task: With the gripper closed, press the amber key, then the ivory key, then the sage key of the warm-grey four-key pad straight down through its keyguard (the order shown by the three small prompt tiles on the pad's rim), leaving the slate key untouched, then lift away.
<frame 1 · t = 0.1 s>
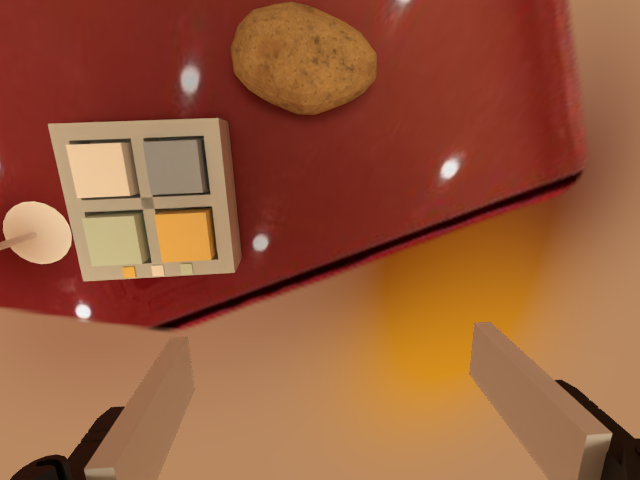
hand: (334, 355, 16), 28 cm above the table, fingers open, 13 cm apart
potato: (304, 71, 39), on the table
keypad: (165, 196, 41), on the table
key slate: (177, 166, 35), point 5 cm above the table, slide at 0.0 cm
wineglass: (38, 233, 41), on the table
key amber: (187, 234, 37), point 5 cm above the table, slide at 0.0 cm
key ivory: (105, 169, 35), point 5 cm above the table, slide at 0.0 cm
key sage: (118, 238, 37), point 5 cm above the table, slide at 0.0 cm
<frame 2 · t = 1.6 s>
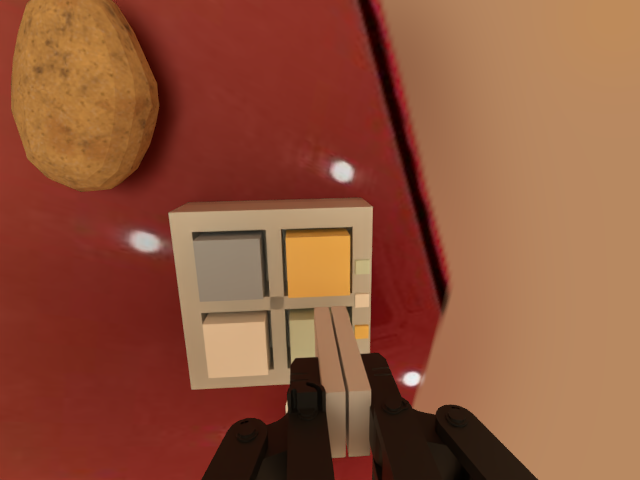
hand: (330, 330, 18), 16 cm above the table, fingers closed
potato: (117, 101, 30), on the table
keypad: (280, 280, 35), on the table
key slate: (231, 265, 29), point 5 cm above the table, slide at 0.0 cm
key amber: (317, 262, 29), point 5 cm above the table, slide at 0.0 cm
key ivory: (238, 342, 31), point 5 cm above the table, slide at 0.0 cm
key sage: (319, 338, 31), point 5 cm above the table, slide at 0.0 cm
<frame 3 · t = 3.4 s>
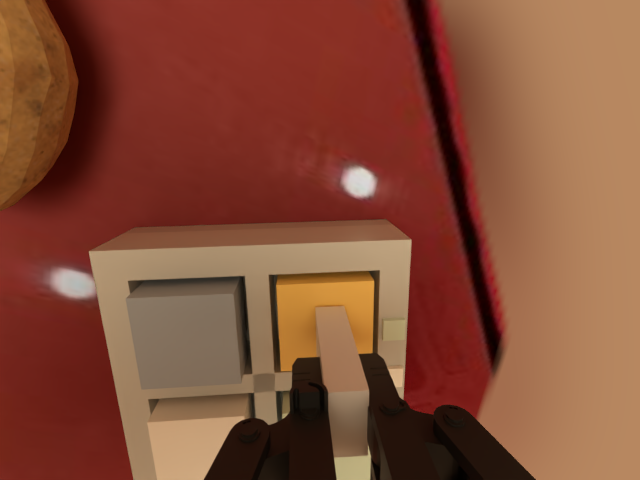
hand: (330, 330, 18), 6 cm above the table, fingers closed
potato: (21, 76, 20), on the table
keypad: (270, 334, 25), on the table
key slate: (193, 329, 19), point 5 cm above the table, slide at 0.0 cm
key amber: (324, 315, 20), point 4 cm above the table, slide at 0.8 cm, touching gripper
key ivory: (206, 438, 20), point 5 cm above the table, slide at 0.0 cm
key sage: (327, 430, 21), point 5 cm above the table, slide at 0.0 cm
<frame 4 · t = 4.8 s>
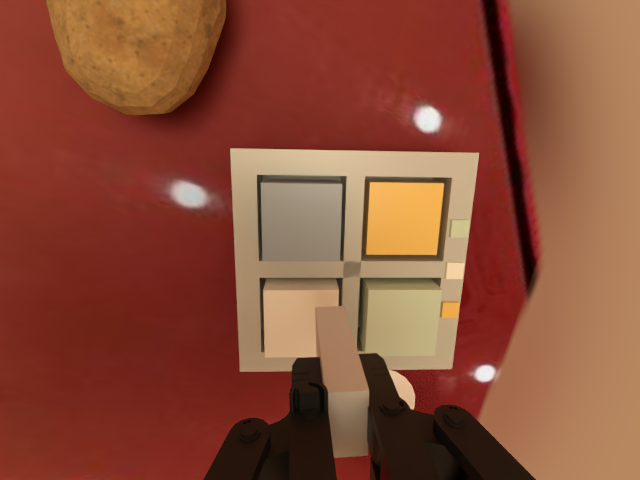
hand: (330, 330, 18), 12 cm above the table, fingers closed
potato: (168, 18, 25), on the table
keypad: (343, 248, 30), on the table
key slate: (301, 219, 24), point 5 cm above the table, slide at 0.0 cm
wineglass: (375, 401, 34), on the table
key amber: (399, 216, 25), point 4 cm above the table, slide at 1.6 cm
key ivory: (301, 315, 25), point 5 cm above the table, slide at 0.0 cm
key sage: (397, 315, 26), point 5 cm above the table, slide at 0.0 cm
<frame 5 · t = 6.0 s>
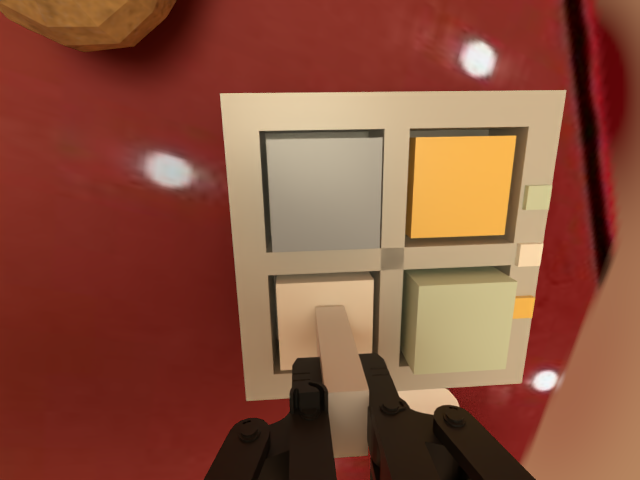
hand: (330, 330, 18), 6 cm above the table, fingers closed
keypad: (371, 234, 23), on the table
key slate: (323, 192, 17), point 5 cm above the table, slide at 0.0 cm
wineglass: (412, 420, 28), on the table
key amber: (451, 185, 19), point 4 cm above the table, slide at 1.6 cm
key ivory: (323, 314, 20), point 4 cm above the table, slide at 1.1 cm, touching gripper
key sage: (453, 317, 19), point 5 cm above the table, slide at 0.0 cm
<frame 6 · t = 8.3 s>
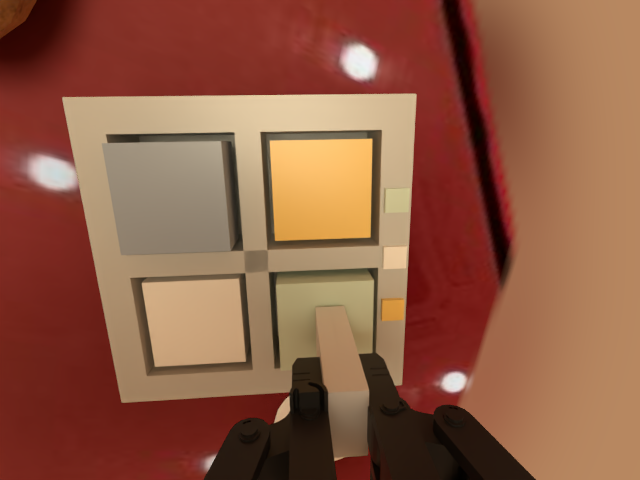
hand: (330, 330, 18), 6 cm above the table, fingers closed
keypad: (264, 236, 23), on the table
key slate: (178, 195, 17), point 5 cm above the table, slide at 0.0 cm
key amber: (320, 188, 19), point 4 cm above the table, slide at 1.6 cm
key ivory: (201, 312, 20), point 4 cm above the table, slide at 1.6 cm
key sage: (324, 315, 20), point 5 cm above the table, slide at 0.5 cm, touching gripper
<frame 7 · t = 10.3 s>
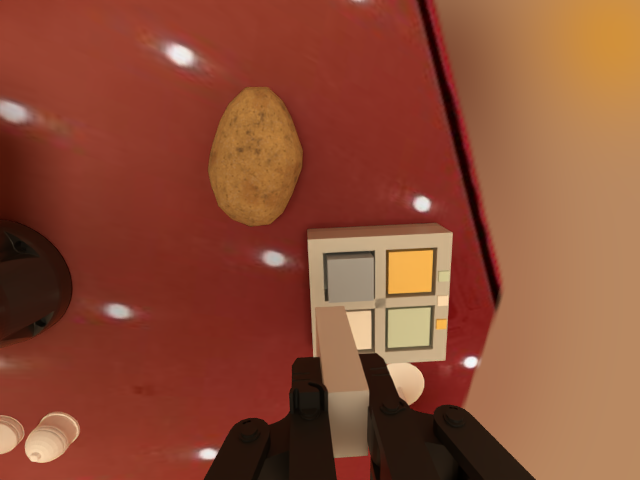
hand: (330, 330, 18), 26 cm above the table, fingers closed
potato: (261, 157, 41), on the table
container set: (8, 428, 49), on the table
keypad: (372, 286, 46), on the table
key slate: (349, 276, 40), point 5 cm above the table, slide at 0.0 cm
wineglass: (397, 384, 50), on the table
key amber: (407, 268, 42), point 4 cm above the table, slide at 1.6 cm
key ivory: (349, 325, 43), point 4 cm above the table, slide at 1.6 cm
key sage: (405, 322, 43), point 4 cm above the table, slide at 1.6 cm
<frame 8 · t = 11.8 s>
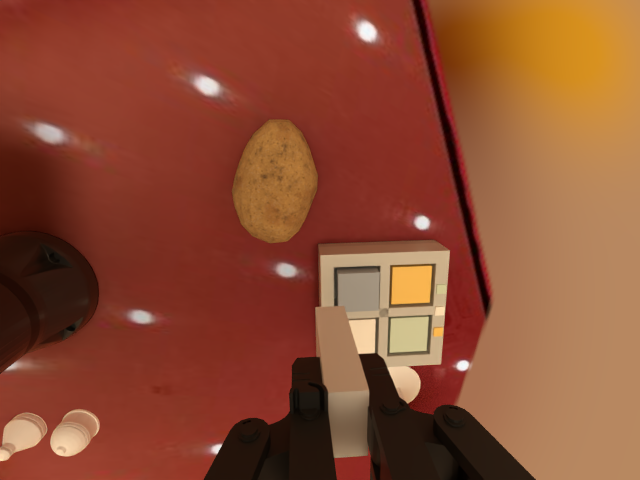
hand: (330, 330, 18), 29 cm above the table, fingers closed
potato: (277, 178, 45), on the table
container set: (31, 424, 53), on the table
keypad: (375, 296, 50), on the table
key slate: (357, 288, 44), point 5 cm above the table, slide at 0.0 cm
wineglass: (396, 385, 55), on the table
key amber: (408, 281, 46), point 4 cm above the table, slide at 1.6 cm
key ivory: (354, 332, 47), point 4 cm above the table, slide at 1.6 cm
key sage: (406, 329, 48), point 4 cm above the table, slide at 1.6 cm
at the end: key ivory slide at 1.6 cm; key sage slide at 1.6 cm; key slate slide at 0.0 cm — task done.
